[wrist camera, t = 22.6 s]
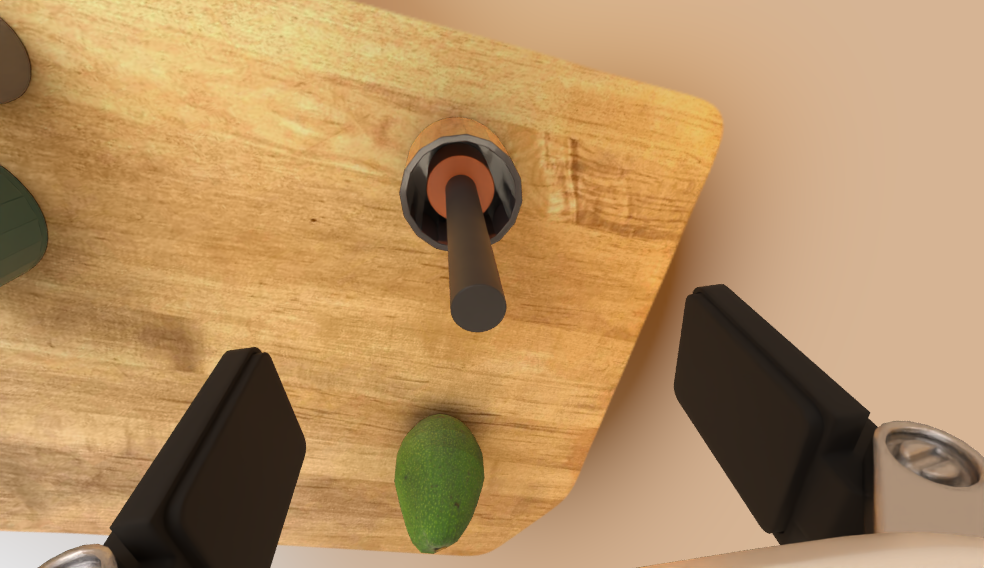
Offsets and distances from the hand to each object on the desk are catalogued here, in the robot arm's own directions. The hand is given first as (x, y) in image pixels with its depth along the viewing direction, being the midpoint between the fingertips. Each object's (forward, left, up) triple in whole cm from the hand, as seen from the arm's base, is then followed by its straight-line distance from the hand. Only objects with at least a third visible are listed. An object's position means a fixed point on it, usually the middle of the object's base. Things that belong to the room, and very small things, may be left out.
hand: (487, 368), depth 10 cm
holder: (+2, 0, -25) cm, 25 cm away
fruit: (+27, -5, -25) cm, 37 cm away
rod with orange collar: (+2, 0, -25) cm, 25 cm away
